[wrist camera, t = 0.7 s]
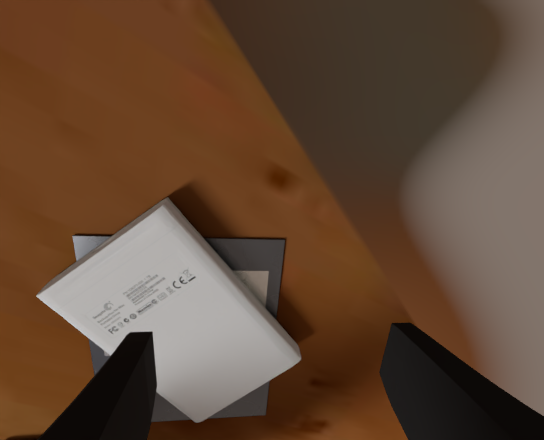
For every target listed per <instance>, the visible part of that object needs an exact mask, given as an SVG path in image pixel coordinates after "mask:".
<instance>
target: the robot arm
mask: <svg viewBox="0 0 544 440" xmlns="http://www.w3.org/2000/svg"><path fill="white" fill-rule="evenodd" d="M379 373H380V376H381V378H382V381H383V384H384V387H385V390H386V393H387V395H388V398H389V400H390V403H391V406H392V408H393V410H394V412H395V414H396V416H397V418H398V420H399V422H400V424H401V426H402V428H403V430H404V432H405V434H406V436H407V438H408V440H544V416H542V415H541V414H539V413H537V412H536V411H534V410H532V409H531V408H530V407H528V406H526V405H525V404H523V403H522V402H520V401H519V400H517V399H516V398H514V397H513V396H512V395H510V394H509V393H507V392H505V391H504V390H503V389H501V388H499V387H498V386H497V385H495V384H494V383H492V382H491V381H489V380H488V379H487V378H485V377H484V376H482V375H481V374H480V373H478V372H477V371H476V370H474V369H473V368H471V367H470V366H469V365H467V364H466V363H465V362H463V361H462V360H460V359H459V358H457V357H456V356H455V355H454V354H452V353H451V352H450V351H448V350H447V349H446V348H444V347H443V346H442V345H440V344H439V343H438V342H436V341H435V340H434V339H432V338H431V337H430V336H428V335H427V334H425V333H424V332H423V331H421V330H420V329H419V328H417V327H416V326H414V325H413V324H411V323H392V325H391V329H390V333H389V336H388V340H387V344H386V348H385V352H384V356H383V360H382V364H381V368H380V372H379ZM156 389H157V378H156V366H155V355H154V343H153V332H152V331H151V332H130V333H129V334H127V335H126V336H125V338H124V339H123V340H122V342H121V343H120V344H119V346H118V347H117V348H116V350H115V351H114V352H113V353H112V355H111V356H110V357H109V359H108V360H107V361H106V362H105V364H104V365H103V366H102V367H101V369H100V370H99V371H98V372H97V374H96V375H95V376H94V377H93V378H92V379H91V381H90V382H89V383H88V384H87V385H86V387H85V388H84V389H83V390H82V391H81V392H80V394H79V395H78V396H77V397H76V398H75V399H74V401H73V402H72V403H71V404H70V405H69V406H68V407H67V408H66V409H65V410H64V412H63V413H62V414H61V415H60V416H59V417H58V418H57V419H56V420H55V421H54V422H53V423H52V425H51V426H50V427H49V428H48V429H47V430H46V431H45V432H44V433H43V434H42V435H41V436H40V437H39V438H38V439H37V440H147V437H148V433H149V429H150V425H151V420H152V414H153V408H154V402H155V395H156Z"/></svg>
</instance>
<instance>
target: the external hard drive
mask: <svg viewBox="0 0 544 440" xmlns="http://www.w3.org/2000/svg"><path fill="white" fill-rule="evenodd" d="M36 297H38V298H39V299H40V300H41V301H43V302H44V303H45V304H46V305H48V306H49V307H50V308H51V309H53V310H54V311H55V312H57V313H58V314H59V315H61V316H62V317H63V318H64V319H66V320H67V321H68V322H69V323H70V324H72V325H73V326H74V327H75V328H77V329H78V330H79V331H80V332H82V333H83V334H84V335H85V336H87V337H88V338H89V339H90V340H91V341H93V342H94V343H95V344H97V345H98V346H99V347H100V348H102V349H103V350H104V351H106V352H107V353H108V354H109V355H112V353H113V352H114V351H115V350H116V348H117V347H118V346H119V344H120V343H121V342H122V340H123V339H124V338H125V336H126V335H127V334H129V333H130V332H151V331H152V332H153V343H154V355H155V366H156V378H157V389H156V392H157V393H158V394H160V395H161V396H162V397H164V398H165V399H166V400H167V401H169V402H170V403H171V404H172V405H174V406H175V407H176V408H178V409H179V410H180V411H181V412H183V413H184V414H185V415H187V416H188V417H189V418H190V419H192V420H193V421H194V422H196V423H198V422H201V421H203V420H205V419H207V418H208V417H210V416H212V415H213V414H215V413H217V412H218V411H220V410H222V409H223V408H225V407H227V406H228V405H230V404H231V403H233V402H235V401H236V400H238V399H240V398H241V397H243V396H245V395H247V394H248V393H250V392H251V391H253V390H255V389H257V388H258V387H260V386H262V385H263V384H265V383H266V382H268V381H270V380H271V379H273V378H275V377H276V376H278V375H280V374H281V373H283V372H285V371H286V370H288V369H290V368H291V367H293V366H294V365H295V364H297V363H298V362H299V361H300V360H301V354H300V350H299V346H298V344H297V343H296V342H295V341H294V340H293V339H292V338H291V337H290V335H289V334H288V333H287V332H286V331H285V330H284V328H283V327H282V326H281V325H280V324H279V323H278V322H277V321H276V319H275V318H274V317H273V316H272V315H271V314H270V313H269V312H268V311H267V309H266V308H265V307H264V306H263V305H262V304H261V303H260V301H259V300H258V299H257V298H256V297H255V296H254V294H253V293H252V292H251V291H250V290H249V289H248V288H247V287H246V286H245V284H244V283H243V282H242V281H241V280H240V279H239V278H238V277H237V275H236V274H235V273H234V272H233V271H232V270H231V269H230V267H229V266H228V265H227V264H226V263H225V262H224V261H223V260H222V258H221V257H220V256H219V255H218V254H217V253H216V252H215V251H214V249H213V248H212V247H211V246H210V245H209V244H208V243H207V242H206V240H205V239H204V238H203V237H202V236H201V235H200V233H199V232H198V231H197V230H196V229H195V228H194V227H193V226H192V225H191V223H190V222H189V221H188V220H187V219H186V218H185V217H184V215H183V214H182V213H181V212H180V210H179V209H178V208H177V207H176V206H175V205H174V204H173V203H172V201H171V200H170V199H169V198H168V197H167V198H165V199H164V200H162V201H160V202H159V203H157V204H156V205H155V206H153V207H152V208H150V209H149V210H148V211H146V212H145V213H143V214H142V215H141V216H139V217H138V218H136V219H135V220H134V221H132V222H131V223H130V224H128V225H127V226H125V227H124V228H123V229H121V230H120V231H118V232H117V233H116V234H114V235H113V236H111V237H110V238H109V239H107V240H106V241H104V242H103V243H102V244H100V245H99V246H97V247H96V248H95V249H93V250H92V251H91V252H89V253H88V254H86V255H85V256H84V257H82V258H81V259H79V260H78V261H77V262H75V263H74V264H73V265H71V266H70V267H68V268H67V269H66V270H64V271H63V272H62V273H60V274H59V275H57V276H56V277H55V278H53V279H52V280H51V281H50V282H48V283H47V284H46V285H45V286H44V287H43V288H42V290H41V291H40V292H39V293H38V294H37V295H36Z"/></svg>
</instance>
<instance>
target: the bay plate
mask: <svg viewBox="0 0 544 440" xmlns="http://www.w3.org/2000/svg"><path fill="white" fill-rule="evenodd" d="M110 237H111V236H93V235H73V242H74V248H75V255H76V261H78V260H79V259H81V258H82V257H84V256H85V255H86V254H88V253H89V252H91V251H92V250H93V249H95V248H96V247H97V246H99V245H100V244H102V243H103V242H104V241H106V240H107V239H109V238H110ZM204 239H205V240H206V242H207V243H208V244H209V245H210V246H211V247H212V248H213V249H214V251H215V252H216V253H217V254H218V255H219V256H220V257H221V258H222V260H223V261H224V262H225V263H226V264H227V265H228V266H229V267H230V269H231V270H232V271H233V272H234V273H235V274H236V275H237V277H238V278H239V279H240V280H241V281H242V282H243V283H244V284H245V286H246V287H247V288H248V289H249V290H250V291H251V292H252V293H253V294H254V296H255V297H256V298H257V299H258V300H259V301H260V303H261V304H262V305H263V306H264V307H265V308H266V309H267V311H268V312H269V313H270V314H271V315H272V316H273V317H274V318H275V319H276V317H277V308H278V299H279V289H280V280H281V271H282V262H283V253H284V244H285V239H248V238H204ZM89 343H90V349H91V356H92V362H93V368H94V375H96V374H97V372H98V371H99V370H100V369H101V367H102V366H103V365H104V364H105V362H106V361H107V360H108V359H109V357H110V356H111V355H109V354H108V353H107V352H106V351H104V350H103V349H102V348H100V347H99V346H98V345H97V344H95V343H94V342H93V341H91V340H90V339H89ZM268 389H269V381H268V382H266V383H265V384H263V385H262V386H260V387H258V388H257V389H255V390H253V391H251V392H250V393H248V394H247V395H245V396H243V397H241V398H240V399H238V400H236V401H235V402H233V403H231V404H230V405H228V406H227V407H225V408H223V409H222V410H220V411H218V412H217V413H215V414H213V415H212V416H210V417H208V418H207V419H209V418H225V417H242V416H258V415H266V407H267V398H268ZM175 420H192V419H190V418H189V417H188V416H187V415H185V414H184V413H183V412H181V411H180V410H179V409H178V408H176V407H175V406H174V405H172V404H171V403H170V402H169V401H167V400H166V399H165V398H164V397H162V396H161V395H160V394H158V393H157V392H156V395H155V402H154V408H153V414H152V420H151V422H159V421H175Z"/></svg>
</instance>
